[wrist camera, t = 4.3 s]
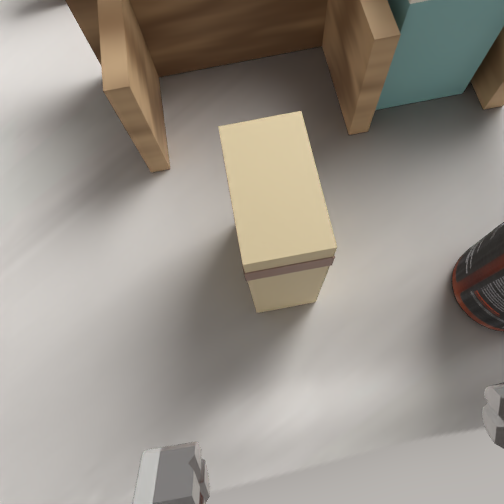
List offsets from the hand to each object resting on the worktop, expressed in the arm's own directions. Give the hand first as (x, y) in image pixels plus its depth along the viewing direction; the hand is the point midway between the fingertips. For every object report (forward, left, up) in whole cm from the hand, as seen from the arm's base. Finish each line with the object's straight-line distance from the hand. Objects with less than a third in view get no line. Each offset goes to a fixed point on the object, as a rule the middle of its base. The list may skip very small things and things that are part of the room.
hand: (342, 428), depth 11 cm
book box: (+8, -6, -15) cm, 18 cm away
